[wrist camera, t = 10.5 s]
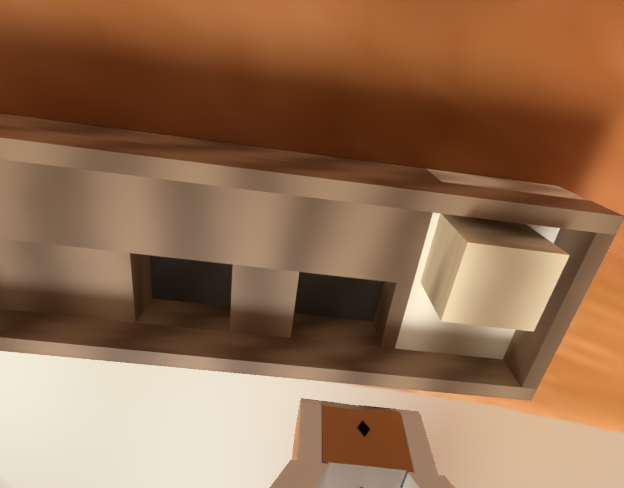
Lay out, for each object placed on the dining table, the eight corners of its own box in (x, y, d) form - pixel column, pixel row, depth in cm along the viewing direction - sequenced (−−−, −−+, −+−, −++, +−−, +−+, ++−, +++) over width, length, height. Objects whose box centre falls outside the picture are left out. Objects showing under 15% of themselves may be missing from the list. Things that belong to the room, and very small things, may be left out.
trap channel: (557, 185, 24) (624, 216, 19) (492, 343, 29) (531, 400, 24) (-25, 109, 21) (-127, 121, 16) (18, 294, 27) (-50, 346, 22)
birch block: (525, 223, 21) (569, 254, 18) (498, 290, 23) (533, 331, 20) (440, 213, 21) (467, 242, 17) (419, 281, 23) (440, 321, 19)
